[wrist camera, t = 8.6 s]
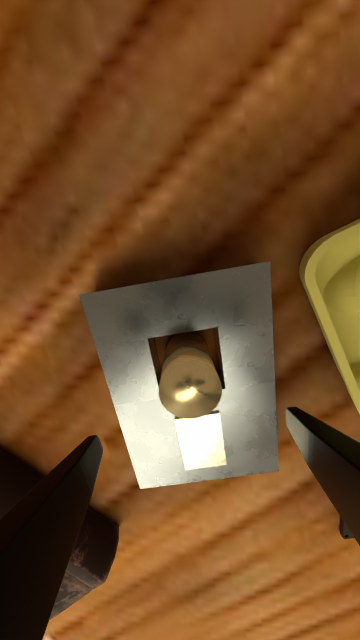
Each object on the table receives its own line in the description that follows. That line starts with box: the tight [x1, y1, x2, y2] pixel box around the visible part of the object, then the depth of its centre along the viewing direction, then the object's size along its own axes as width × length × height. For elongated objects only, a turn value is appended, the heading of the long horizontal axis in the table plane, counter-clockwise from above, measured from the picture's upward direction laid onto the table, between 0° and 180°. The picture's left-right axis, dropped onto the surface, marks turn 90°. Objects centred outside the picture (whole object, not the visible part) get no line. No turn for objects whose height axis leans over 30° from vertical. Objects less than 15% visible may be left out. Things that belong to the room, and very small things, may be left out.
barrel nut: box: [159, 332, 222, 419], centre depth 14 cm, size 4×4×6 cm
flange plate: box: [80, 261, 279, 489], centre depth 16 cm, size 20×14×3 cm
